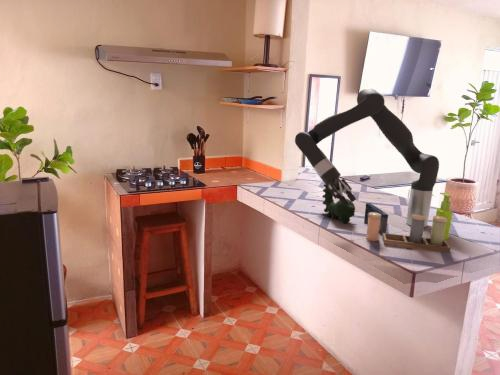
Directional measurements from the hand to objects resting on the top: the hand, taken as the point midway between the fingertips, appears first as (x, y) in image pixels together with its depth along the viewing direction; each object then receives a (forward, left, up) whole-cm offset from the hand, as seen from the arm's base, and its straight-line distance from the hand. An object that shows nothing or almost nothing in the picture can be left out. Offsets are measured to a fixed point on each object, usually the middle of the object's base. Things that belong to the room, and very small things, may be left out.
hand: (350, 202), depth 157 cm
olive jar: (+5, +33, -13) cm, 36 cm away
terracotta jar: (+4, +10, -15) cm, 18 cm away
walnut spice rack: (+5, +26, -15) cm, 30 cm away
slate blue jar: (+5, +26, -13) cm, 29 cm away
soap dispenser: (-9, +38, -15) cm, 42 cm away
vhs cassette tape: (-13, +12, -15) cm, 23 cm away
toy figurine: (-24, -5, -15) cm, 29 cm away
